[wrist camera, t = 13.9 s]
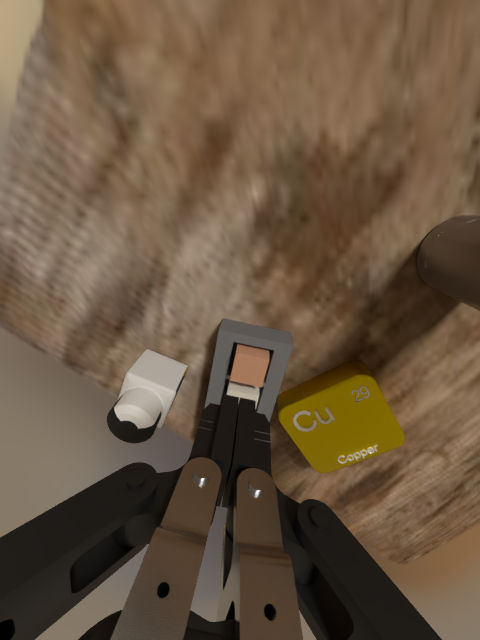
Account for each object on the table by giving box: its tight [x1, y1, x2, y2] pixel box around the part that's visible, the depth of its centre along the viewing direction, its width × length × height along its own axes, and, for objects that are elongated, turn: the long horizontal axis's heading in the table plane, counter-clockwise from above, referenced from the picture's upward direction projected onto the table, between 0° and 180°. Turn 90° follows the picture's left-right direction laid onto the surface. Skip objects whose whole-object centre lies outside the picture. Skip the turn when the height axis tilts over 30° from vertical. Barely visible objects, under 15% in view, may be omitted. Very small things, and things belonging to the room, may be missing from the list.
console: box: [204, 319, 293, 422], centre depth 43 cm, size 10×20×4 cm, turn 169°
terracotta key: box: [230, 343, 269, 387], centre depth 38 cm, size 4×4×4 cm
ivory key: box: [226, 380, 259, 410], centre depth 41 cm, size 4×4×4 cm
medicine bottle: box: [107, 349, 188, 443], centre depth 39 cm, size 7×7×12 cm
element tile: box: [277, 361, 405, 473], centre depth 43 cm, size 15×15×5 cm
